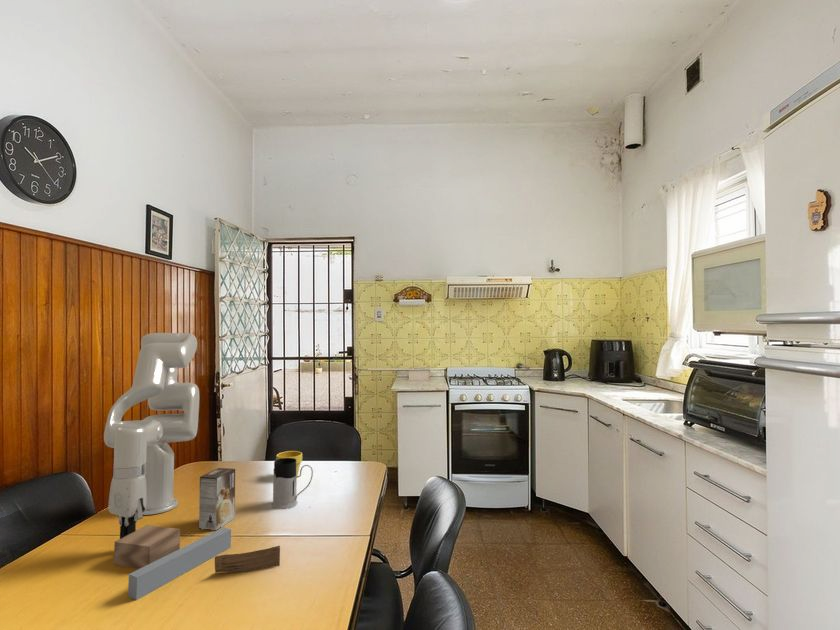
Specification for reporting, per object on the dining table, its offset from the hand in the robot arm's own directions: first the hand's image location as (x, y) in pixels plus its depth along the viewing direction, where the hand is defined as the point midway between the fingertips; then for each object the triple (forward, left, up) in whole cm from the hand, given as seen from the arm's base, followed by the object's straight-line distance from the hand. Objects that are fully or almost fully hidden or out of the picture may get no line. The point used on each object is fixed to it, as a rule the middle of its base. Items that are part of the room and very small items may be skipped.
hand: (127, 538), depth 118 cm
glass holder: (+20, +44, -3) cm, 48 cm away
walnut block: (+9, 0, -4) cm, 9 cm away
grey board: (+23, 0, -3) cm, 23 cm away
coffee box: (+9, +22, -3) cm, 24 cm away
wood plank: (+38, +7, -4) cm, 39 cm away
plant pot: (0, +65, -3) cm, 65 cm away
